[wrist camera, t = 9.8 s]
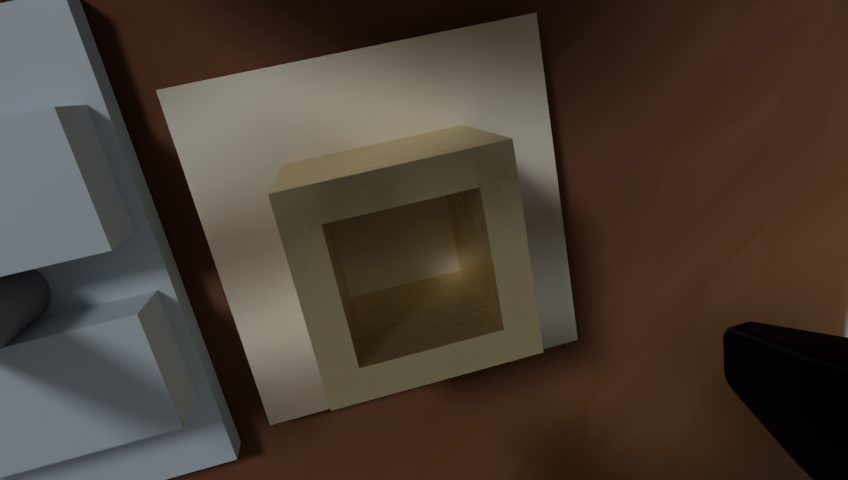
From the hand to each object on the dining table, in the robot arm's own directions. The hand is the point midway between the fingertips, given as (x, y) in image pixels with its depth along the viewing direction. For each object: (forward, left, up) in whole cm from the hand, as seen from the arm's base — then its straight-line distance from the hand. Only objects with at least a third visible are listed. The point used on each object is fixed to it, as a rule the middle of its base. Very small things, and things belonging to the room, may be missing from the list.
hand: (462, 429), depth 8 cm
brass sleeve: (0, 0, -11) cm, 11 cm away
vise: (+3, +12, -12) cm, 17 cm away
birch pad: (0, 0, -12) cm, 12 cm away
